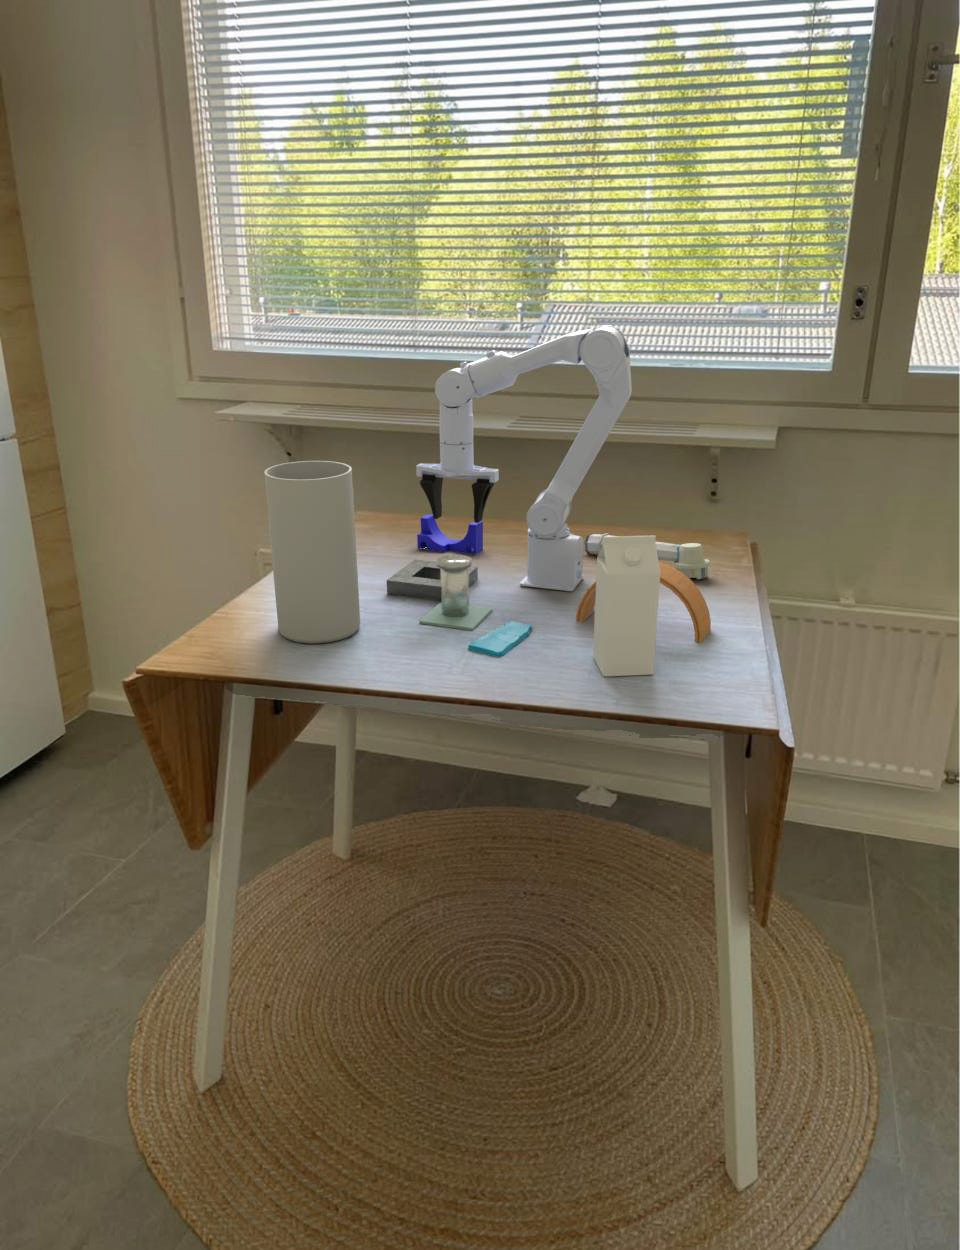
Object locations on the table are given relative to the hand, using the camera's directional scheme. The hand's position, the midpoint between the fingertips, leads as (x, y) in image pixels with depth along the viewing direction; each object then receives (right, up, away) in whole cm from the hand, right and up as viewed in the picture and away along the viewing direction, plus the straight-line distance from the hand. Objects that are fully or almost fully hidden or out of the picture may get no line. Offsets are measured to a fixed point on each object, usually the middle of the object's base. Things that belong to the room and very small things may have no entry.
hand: (457, 519), depth 169 cm
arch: (+29, -19, -18) cm, 39 cm away
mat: (0, -17, -15) cm, 23 cm away
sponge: (+8, -21, -24) cm, 33 cm away
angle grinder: (+34, -8, +9) cm, 36 cm away
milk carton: (+24, -25, -33) cm, 47 cm away
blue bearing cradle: (-2, -4, +19) cm, 19 cm away
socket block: (-4, -12, -2) cm, 13 cm away
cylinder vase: (-21, -19, -20) cm, 35 cm away
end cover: (0, -16, -14) cm, 22 cm away
